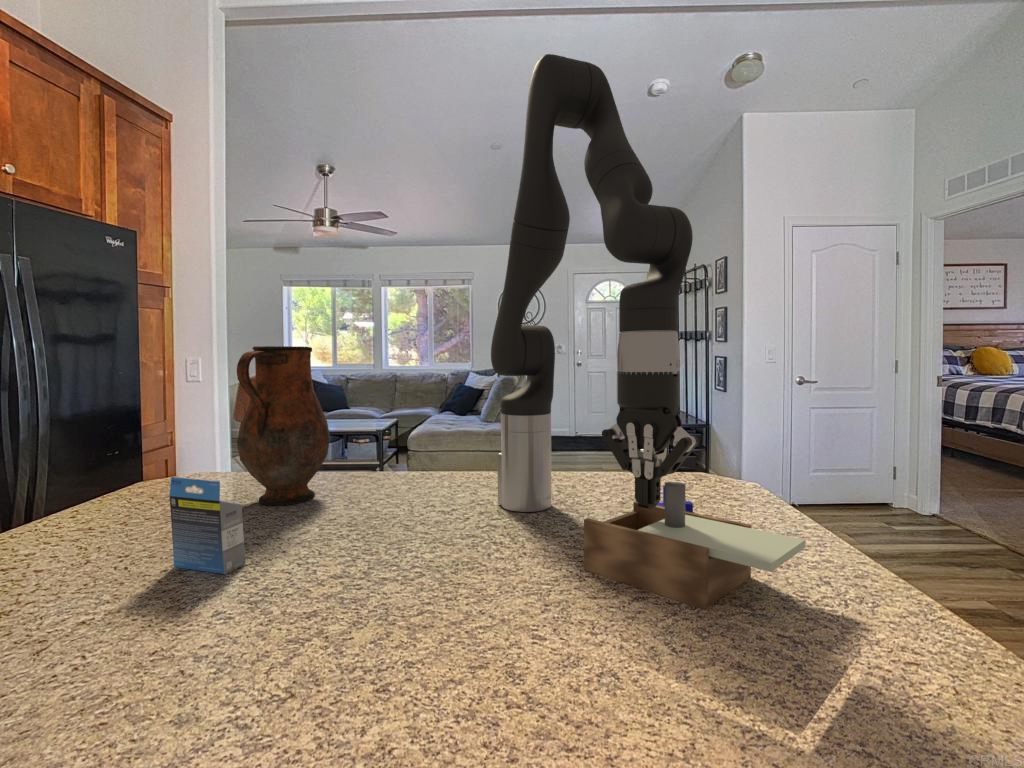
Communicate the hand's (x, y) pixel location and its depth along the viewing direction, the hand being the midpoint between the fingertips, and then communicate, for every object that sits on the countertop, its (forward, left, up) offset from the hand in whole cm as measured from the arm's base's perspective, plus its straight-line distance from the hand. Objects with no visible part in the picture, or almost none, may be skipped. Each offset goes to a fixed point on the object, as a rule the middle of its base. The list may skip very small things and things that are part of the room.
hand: (647, 506), depth 71 cm
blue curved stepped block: (-7, +19, -9) cm, 22 cm away
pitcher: (-71, -17, -9) cm, 73 cm away
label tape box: (-44, -38, -9) cm, 58 cm away
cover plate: (+9, 0, -2) cm, 9 cm away
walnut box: (+2, 0, -9) cm, 9 cm away
